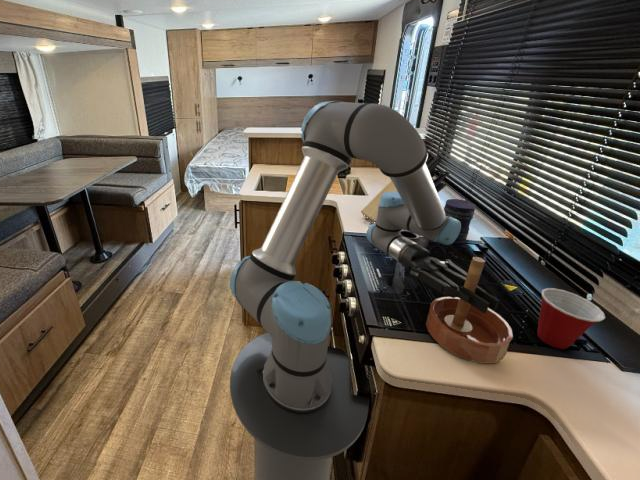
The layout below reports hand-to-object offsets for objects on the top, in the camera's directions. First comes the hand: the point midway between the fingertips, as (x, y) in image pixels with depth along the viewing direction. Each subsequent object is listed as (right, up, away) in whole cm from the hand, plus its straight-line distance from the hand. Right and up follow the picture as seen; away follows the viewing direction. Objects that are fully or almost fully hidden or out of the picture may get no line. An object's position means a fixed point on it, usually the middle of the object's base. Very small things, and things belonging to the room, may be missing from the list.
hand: (491, 306), depth 69 cm
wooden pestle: (-1, -8, +9) cm, 12 cm away
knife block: (+18, +17, +74) cm, 78 cm away
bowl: (0, -11, +9) cm, 14 cm away
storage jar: (+30, +9, +56) cm, 64 cm away
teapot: (+8, +6, +50) cm, 51 cm away
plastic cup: (+21, -11, +7) cm, 25 cm away
